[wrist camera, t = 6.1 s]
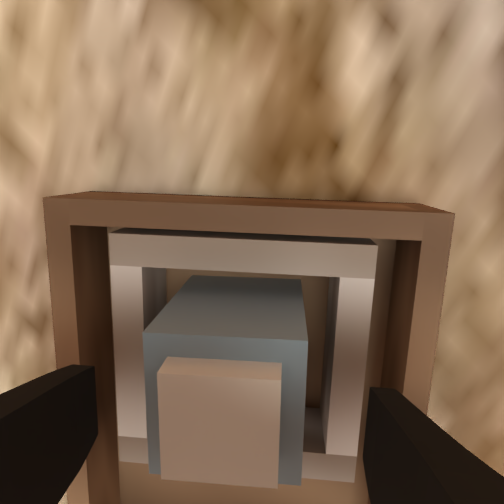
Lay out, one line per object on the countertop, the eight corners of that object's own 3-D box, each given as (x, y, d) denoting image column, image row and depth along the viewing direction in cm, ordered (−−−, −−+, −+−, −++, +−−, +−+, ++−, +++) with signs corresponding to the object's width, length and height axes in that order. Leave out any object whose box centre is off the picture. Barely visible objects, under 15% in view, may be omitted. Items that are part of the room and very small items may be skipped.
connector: (300, 279, 14) (310, 356, 9) (296, 379, 15) (302, 512, 9) (192, 275, 15) (129, 347, 9) (194, 373, 16) (138, 497, 10)
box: (375, 569, 17) (393, 651, 14) (110, 541, 18) (76, 612, 15) (419, 203, 14) (454, 213, 11) (90, 191, 15) (42, 197, 12)
